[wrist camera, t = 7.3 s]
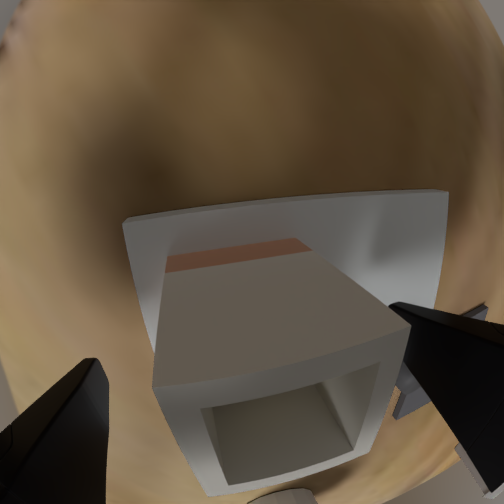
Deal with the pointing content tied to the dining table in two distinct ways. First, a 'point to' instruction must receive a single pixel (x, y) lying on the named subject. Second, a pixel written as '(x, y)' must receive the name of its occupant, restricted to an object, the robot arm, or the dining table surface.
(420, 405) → the mat
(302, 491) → the white cup
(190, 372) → the sleeve
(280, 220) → the pin board
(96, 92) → the dining table surface
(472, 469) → the coffee cup
